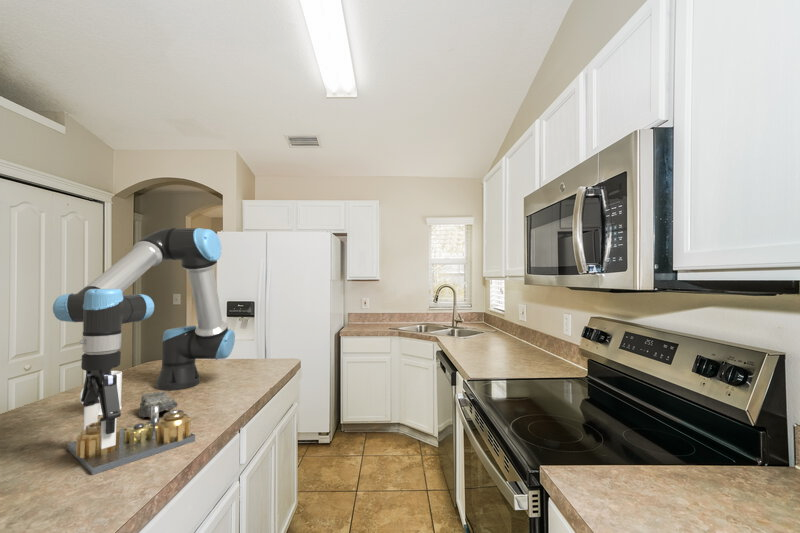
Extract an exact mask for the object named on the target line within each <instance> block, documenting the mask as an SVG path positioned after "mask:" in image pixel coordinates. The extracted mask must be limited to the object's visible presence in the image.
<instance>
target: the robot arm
mask: <svg viewBox="0 0 800 533" xmlns="http://www.w3.org/2000/svg"><path fill="white" fill-rule="evenodd" d="M221 256H222V243H221V240H220V238H219V236H218V234H217V233H216V232H215V231H214V230H213V229H210V228H202V227H198V228H197V227H195V228H194V227H192V228H190V227H189V228H188V227H187V228H185V227H183V228H181V227H180V228H179V227H177V228H176V227H168V228H162V229H159V230H157V231H154V232H151V233H150V234H147V235H146V236H144V237H143V238H141V239H140V240H138V241H137V242H136V243H134V244H133V246H132V250H131V251H129V252H128V253H127V254H126V255H124V256H123V257H122V258H120V259H119V260H118V261H116V262H115V263H114V264H112V266H110V267H109V268H107V270H105V271H104V272H103V273H101V274H100V275H99V276H98V277H96V278H95V279H93V281H91V282H90V283H88V284H87V285H85V287H83V289H80V291H78V292H76V293H73V292H72V293H65V294H61V295H59V296H57V298H56V299H55V301H54V302H53V305H52V312H53V315H54V317H55V318H56V319H57V320H59V321H61V322H69V323H83V324H82V326H83V329H82V339H81V340H79V345H82V349H81V350H82V352H84V353H83V354H81V370H83V371H85V377H84V378H85V379H84V383H83V384H84V385H83V387H84V388H83V387H82V389H83V393H82V398H81V401H82V402H83V404H82V405H83V419H82V420H83V421H82V423H83V426H82V431H83V430H85V429H86V426H87V425H89V424H91V423H95V422H99V421H100V422H101V447H100V448H101V449H104V448H107V447H111V446H114V445H116V428H117V419H118V418H120V417H121V416H122V415H121V414H122V413H121V410H120V406H119V398H118V390H117V375H111V371H112V369H113V368H114V369H115V368H118V367H119V366H120V365H121V359H122V358H121V353H122V352H121V349H122V326H123V324H130V323H135V322H136V323H138V322H141V321H144V320H147V319H149V318H150V317H151V316H152V315H153V313H154V311H155V303H154V301H153V299H152V298H151V297H150V296H149V295H147V294H142V293H141V294H140V293H134V294H123V292H124V291H126V290H127V289H128V288H129V287H130V286H132V285H133V283H135V282H136V281H137V280H138V279H139V278H140V277H141V276H143V275H144V274H145V273H146V272H147V271H148V270H149V269H151V267H156V266H158V265H159V264H161V263H162V262H164V261H180V264H181V267H182V269H184V270H186V271H187V274H188V279H189V285H190V290H191V295H192V300H193V304H194V311H195V316H196V320H197V325H186V326H179V327H173V328H169V329H166V330H164V332H163V333H162V341H161V342H162V344H161V345H162V347H161V349H162V350H161V368H160V370H159V374H158V376H157V379H156V381H155V388H156V389H157V390H162V391H174V390H177V391H178V390H183V389H187V388H192V387H195V386H197V385H199V384H200V383H201V382H200V380H201V378H200V374H199V371H198V369H197V365H196V360H205V359H206V360H211V359H212V360H216V361H217V360H223V359H227V358H229V357H230V355H231V354H232V352H233V349H234V346H235V343H236V342H235V340H236V335H235V334H236V333H235V331H234V330H233V329H229V328H228V323H227V322H225V321H224V320H223V317H222V312H221V306H220V299H219V294H218V287H217V282H216V276H215V275H216V274H215V269H214V268H215V266H216V265H217V263H218V262H217V261H218V260H219V259H220V258H221ZM98 397H99V399H100V401H99V399H98ZM81 401H80V402H81ZM97 403H100V404H101V409H102V414H103V415H102V417H100V419H99V421H98V417H99V416H98V404H97ZM94 404H96V405H94ZM111 412H113V413H111ZM110 413H111V414H110Z"/></svg>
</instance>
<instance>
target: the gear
mask: <svg viewBox="0 0 800 533" xmlns="http://www.w3.org/2000/svg"><path fill="white" fill-rule="evenodd" d="M98 426H100V427H98ZM119 429H120V428H119V427H116V445H114V446H111V447H107V448H104V449H101V448H100V447H101V422H100V420H99V421H98V422H95V423H91V424H89V425H87V426H86V429H85V430H83V429H82V430H81V432H80V434H78V435H77V436H76V439H75V441H76V456H77V457H79V456H80V458H86V457H89V458H93V457H96V456H97V455H100V456H102V455H105V454H107V452H113V451H115V449H116V448H118V447H119V434H120V430H119Z"/></svg>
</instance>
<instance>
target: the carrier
mask: <svg viewBox="0 0 800 533" xmlns="http://www.w3.org/2000/svg"><path fill="white" fill-rule="evenodd" d="M159 413H160V412H159V405H154V406H152V407H151V418H150V420H149V421H146V422H142V423H135V424H132V425H131V426H127V427H125V428H119V430H120V434H119V447H118V448H116V449H115V451H113V452H107V454H105V455H102V456H100V455H97V456H96V457H93V458H89V457H86V458H80V456H79V457H77V456H76V440H75V441H72V442H71V441H70V442H68V443H67V450H68V451H69V452H70V453H71V454H72V455H73V456H74V457H75V458H76V459H77V461H78V462H79V463H80V464H81V465H82V466H83V467H84V468H85V469H86V470H87V471H88V472H89V473H90V474H91V475H92V476H93V475H97V474H100V473H103V472H105V471H109V470H111V469H115V468H117V467H121V466H123V465H126V464H130V463H133V462H135V461H139V460H142V459H145V458H148V457H151V456H153V455H156V454H160V453H162V452H167V451H170V450H172V449H174V448H178V447H181V446H184V445H187V444H190V443H193V442H195V441H196V434H193V433H192V430H191V429H192V418H191V417H190V416H189V414H187V413H185V411H184V410H181V409H172V410H169V411H167V412H165V413H164V414H163V416H162V417H160V418H159V415H160V414H159ZM98 427H100V426H98Z"/></svg>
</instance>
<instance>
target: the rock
mask: <svg viewBox="0 0 800 533" xmlns="http://www.w3.org/2000/svg"><path fill="white" fill-rule="evenodd" d="M154 405H159V413H162V412H164V411H166V410H168V411H167V412H170V411H172V410H174V409H175V408H177V407H178V402H177V401H176V400H175V399H174V398H173V397H172V398H171V396H169V395H168V393H167V391H166V390H162V391H157V392H148V393H143V394H142V395H141V401H140V404H139V414H138V415H139V417H140V418H142V419H146V418H150V419H151V407H152V406H154Z"/></svg>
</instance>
